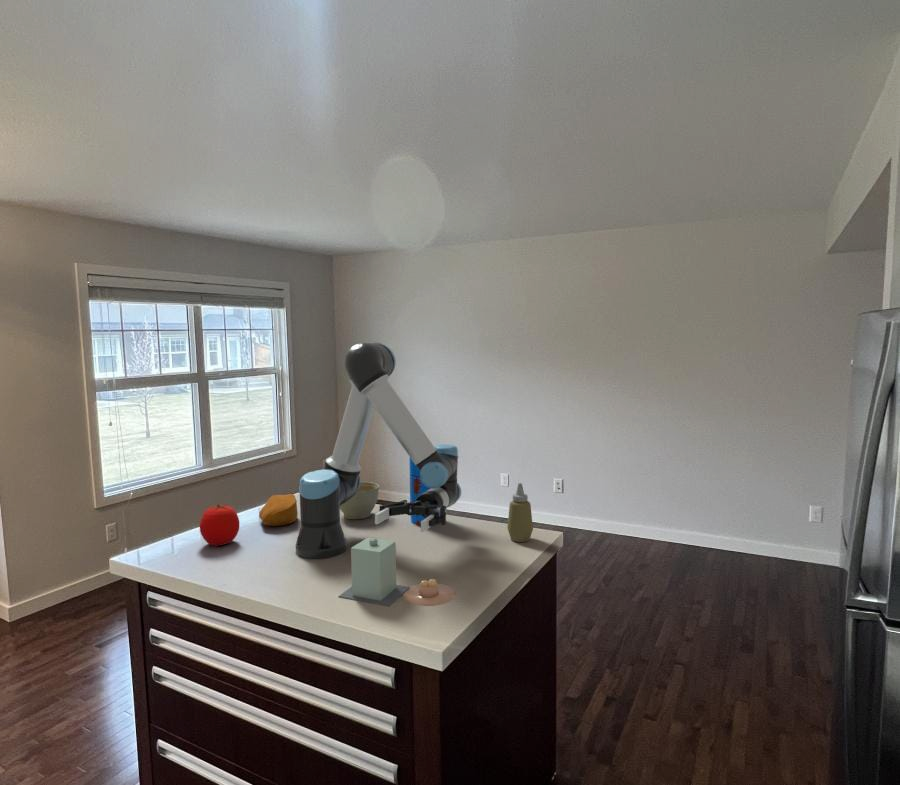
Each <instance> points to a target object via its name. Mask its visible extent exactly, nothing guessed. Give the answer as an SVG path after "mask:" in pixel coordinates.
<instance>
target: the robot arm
mask: <svg viewBox="0 0 900 785" xmlns="http://www.w3.org/2000/svg"><path fill="white" fill-rule="evenodd" d="M396 361H397V360H396V356H395V354H394V352H393V351H392V349H391V348H390V347H389V346H388V345H386V344H383V343H382V342H381V343H380V342H378V341H371V342H359V343H357V344H354V345H352V346H351V347H350V348H349V349H348V351H346V354H345V356H344V369H345V372H346V373H347V376H348V377H349V378H348V381H349V382H350V384H351V387H350V388H351V389H350V392H349V396H348V400H347V402H346V406H345V410H344V413H343V417H342V421H341V424H340V427H339V430H338V431H339V432H338V434H337V438H336V441H335V445H334V448H333V450H332V452H333V453H332V455H330V456H329V457H327V458H326V459H325V462H324V464H323V469H319V470H318V469H317V470H314V471H309V472H307V473H305V474H303V475H302V476H301V478H300V479H299V487H298V491H299V492H298V493H299V507H300V509H299V512H300V529H299V532H298V535H297V537H296V538H297V539H296V542H295V554H296V556H299V557H302V558H306V559H326V558H330V557H334V556H338V555H341V554H342V553H344V552H345V551H346V550H347V539H346V537H345V533H344V530H343V527H342V525H341V510H340V506H341V505H342V504H344V503H345V502H347V501H348V500H350V499H351V498H353V497H354V496H355V494H356V493H357V491H358V489H359V487H360V482H361V476H360V474H361V471H362V467H361V465H360V463H359V460H360V457H361V454H362V452H363V451H362V450H363V447H364V443H365V441H366V437H367V434H368V430H369V426H370V423H371V420H372V416H373V412H374V410H376V411H377V413H378V414H379V416H380V417H381V419H382V420H383V422H384V423H385V424H386V426H387V427H388V429H390V431H391V432H392V434H393V436H394V437H395V438H396V440H397V441H398V443H399V444H400V446H401V447H402V448H403V450H404V451H405V452H406V454H407V455H408V457H410V458H411V459H412V461H413V462H414V464H415V465H416V467H417V468H418V469H419V471H420V478H421V481H422V483H423V484H424V485H425V486H426V487H428V488H432V489H430V490H428V491H426V492H424V493H422V494H421V495H419V496H418V498H417V499H416V501H415V502H410V501H409V502H408V500H407V499H403V500H401V501H395V502H392V503H386V504H381V505H379V511H378V512H377V513H374V524H375V525H378V524H381V523H382V522H384V521H386V520H388V519H389V518H390V517H393V516H400V515H408V516H411V515H421V516H422V517H424V518H426V519H424V520H422V521H421V526H420V532H421V533H424V532H425V531H427V530H429V529H430V528H431V527H434V526H437V525H439V524H441V526H446V524H447V522H446V521H447V509H448V508H449V507H451V506H453V505H455V504H456V503H457V502H458V501H459V500H460V499H461V497H462V489H461V486H460V484H459V482H458V464H459V462H458V459H459V455H458V454H459V450H458V447H457V446H456V445H454V444H443V443H442V444H437V445H435V446H434V445H433V443H432V441H431V440H430V438H428V436H427V435H426V433H425V431H424V430H423V428H421V426H420V424H419V423H418V422H417V420H416V419H415V418H414V416H413V415H412V413H411V412H410V410H409V409H408V408H407V406H406V405H405V403H404V402H403V400H402V399H401V398H400V396H399V395H398V393H397V392H396V390H395V389H394V388H393V386H392V385H391V384H390V382H389V381H388V378H389V377H390V376H391V375H392V374H393V372H394V370H395V368H396V366H397V364H396ZM410 510H411V511H412V512H410ZM439 515H440V517H439Z"/></svg>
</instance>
